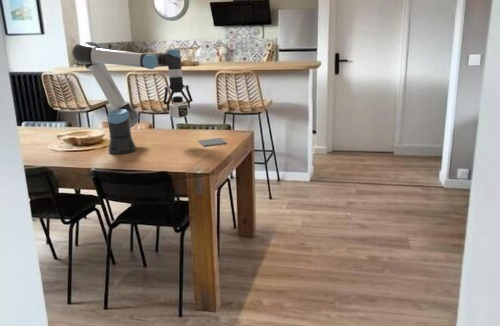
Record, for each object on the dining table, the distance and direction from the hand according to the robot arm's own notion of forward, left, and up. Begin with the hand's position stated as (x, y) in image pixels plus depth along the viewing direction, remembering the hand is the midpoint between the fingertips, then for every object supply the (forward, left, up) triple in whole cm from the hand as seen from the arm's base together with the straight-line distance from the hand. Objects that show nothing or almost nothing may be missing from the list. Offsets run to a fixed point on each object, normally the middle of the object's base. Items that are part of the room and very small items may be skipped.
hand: (179, 114), depth 267 cm
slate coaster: (+17, -7, -18) cm, 26 cm away
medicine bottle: (0, 0, -1) cm, 1 cm away
